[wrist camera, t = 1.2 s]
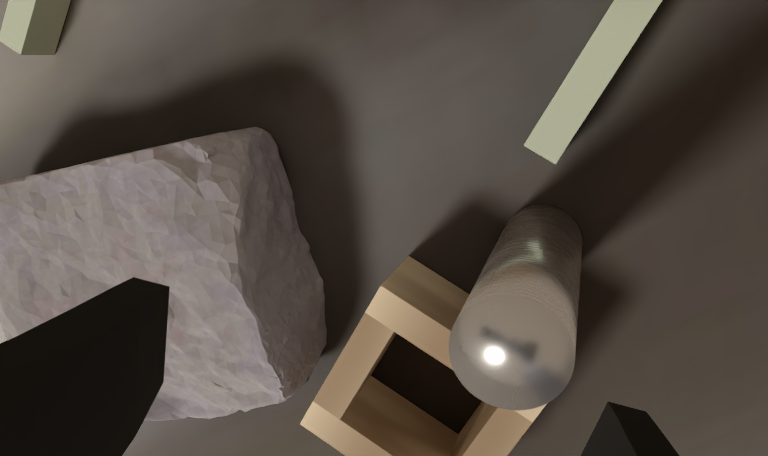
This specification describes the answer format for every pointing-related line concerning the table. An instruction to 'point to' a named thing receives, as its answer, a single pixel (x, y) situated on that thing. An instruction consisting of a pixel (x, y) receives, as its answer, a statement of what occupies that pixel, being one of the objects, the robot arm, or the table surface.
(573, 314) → the cylinder
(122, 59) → the table surface
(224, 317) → the stone block
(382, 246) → the table surface
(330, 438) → the block
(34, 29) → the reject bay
